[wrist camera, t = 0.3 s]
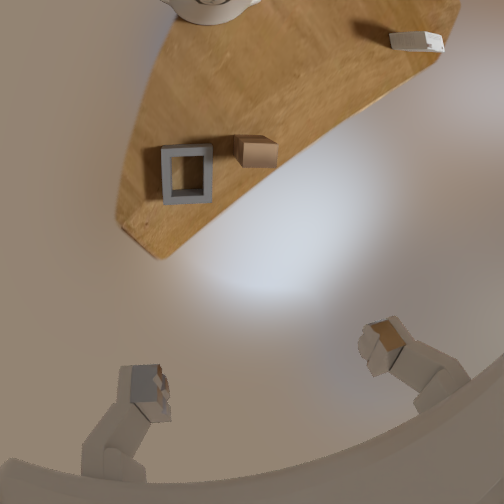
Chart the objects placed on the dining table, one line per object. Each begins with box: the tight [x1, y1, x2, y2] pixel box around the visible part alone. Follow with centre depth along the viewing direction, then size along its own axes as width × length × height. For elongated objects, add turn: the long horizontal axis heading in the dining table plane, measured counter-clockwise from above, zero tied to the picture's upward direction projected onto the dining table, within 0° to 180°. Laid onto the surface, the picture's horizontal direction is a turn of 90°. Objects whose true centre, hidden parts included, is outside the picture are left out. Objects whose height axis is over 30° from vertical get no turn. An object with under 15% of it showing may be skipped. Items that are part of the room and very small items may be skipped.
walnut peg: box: [233, 135, 279, 168], centre depth 45 cm, size 4×6×10 cm
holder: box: [161, 144, 213, 205], centre depth 48 cm, size 10×9×4 cm
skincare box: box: [389, 31, 445, 52], centre depth 36 cm, size 6×4×12 cm
